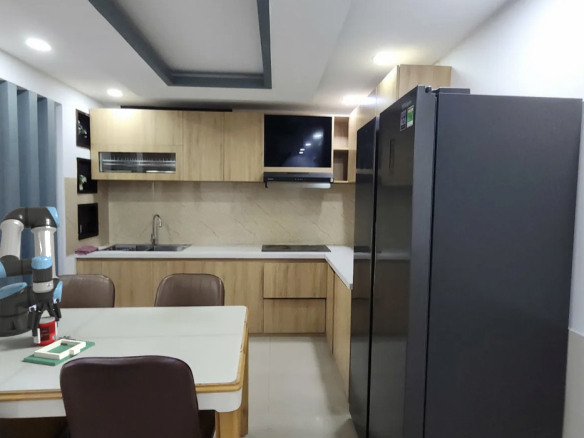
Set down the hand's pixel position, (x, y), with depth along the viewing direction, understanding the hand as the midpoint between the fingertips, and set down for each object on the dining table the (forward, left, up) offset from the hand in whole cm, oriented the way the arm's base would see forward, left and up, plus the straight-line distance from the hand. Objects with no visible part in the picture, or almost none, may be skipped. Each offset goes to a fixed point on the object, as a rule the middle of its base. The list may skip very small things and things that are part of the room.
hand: (45, 338), depth 159 cm
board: (+16, -6, -2) cm, 17 cm away
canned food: (0, 0, -2) cm, 2 cm away
